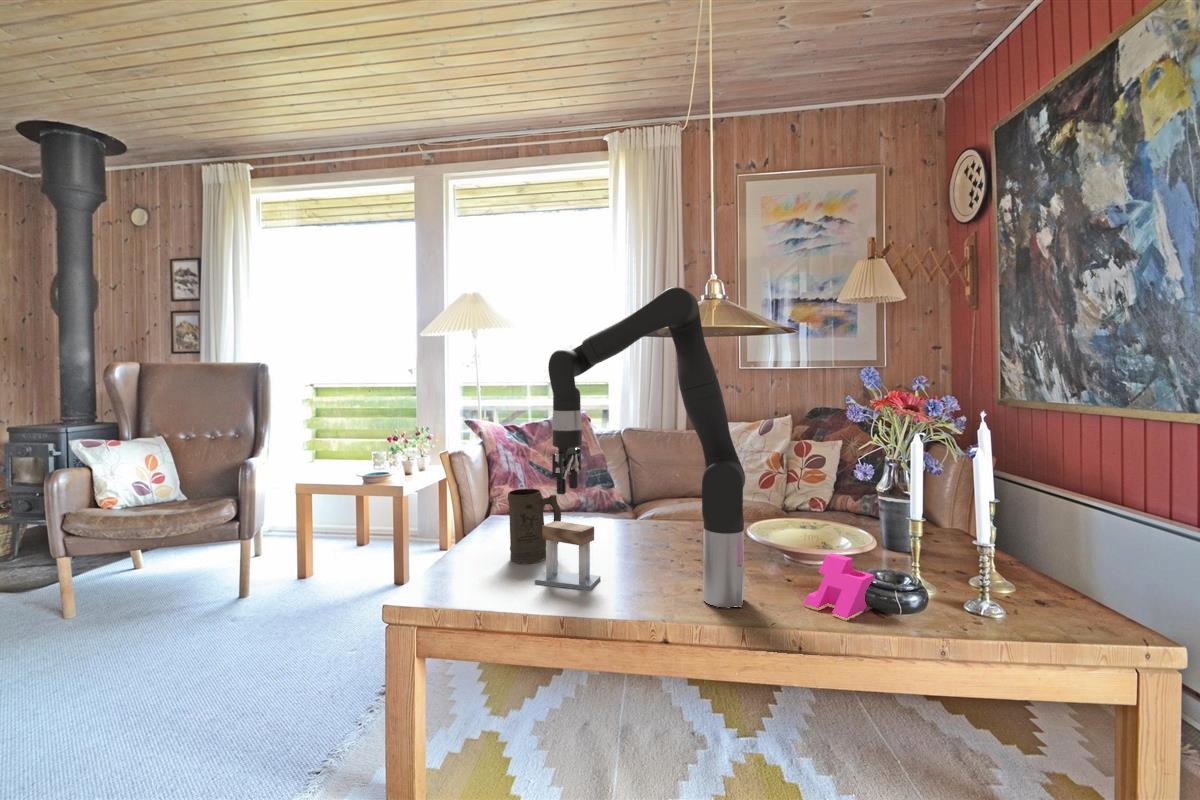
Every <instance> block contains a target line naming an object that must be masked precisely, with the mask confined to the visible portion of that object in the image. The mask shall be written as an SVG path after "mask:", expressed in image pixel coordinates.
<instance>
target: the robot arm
mask: <svg viewBox="0 0 1200 800" xmlns="http://www.w3.org/2000/svg"><path fill="white" fill-rule="evenodd" d="M700 313H701V312H700V306H699V302H698V300H697V298H696V296H694V294H693V293H691V292H690V291H688V289H686V288H683V287H679V286H673V287H669V288H667V289H665V290H664V291H662V292H661V293H660V294H658V295H657V296H655V297H654V298H652V299H651V300H650V301H648V303H646V304H645V305H643V306H641V307H640V308H639V309H637V310H636V311H635V312H632V314H630V315H628V316H626V317H624V318H623V319H621V320H618V322H615V323H614V324H611V325H609V326H608V327H605V328H603V329H601V330H599V331H598V332H596V333H594V334H592V335H589V336H588V337H586V338H585V339H584V340H583V341H582V342H581V344H580V345H578V346H576V347H575V348H573V349H570V350H569V349H557V350H555V351H554V352H553V353H552V354H551V355H550V357H549V359H548V367H547V368H548V377H549V381H550V386H551V390H552V395H553V396H552V400H553V401H552V410H553V411H552V418H551V422H552V423H551V424H552V427H551V428H552V430H551V431H552V446H553V448H558V450H557V451H558V452H557V453H552V459H551V462H552V469H551V470H552V471H551V472H552V476H551V477H552V478H554V479H555V480H556V494H557V495H565V494H566V493H567V474H568V487H569V489H573V490H575V489H577V488H578V487H579V473H580V471H581V470H582V449H581V448H580V447H581V446H582V445H583V434H582V433H583V430H582V427H583V426H582V425H583V424H582V423H583V422H582V420H583V419H582V412H581V407H582V406H581V405H582V404H581V392H580V389H579V388H577V386H576V380H575V378H576V377H578V376H580V375H582V374H584V373H586V372H587V371H589V370H590V369H592V368H593V367H595V366H596V365H597V364H599V363H602V362H604V361H606V360H608V359H610V358H612V357H614V356H616V355H618V354H620V353H621V352H623V351H625V350H626V349H628V348H629V347H630V346H632V345H633V344H634V343H635V342H637V341H639V340H640V339H642V338H644V337H645V336H648V335H649V334H651V333H654V332H656V331H657V332H658V331H660V330H661V329H665V328H668V330H669V332H670V335H671V338H672V341H673V344H674V348H675V352H676V362H677V366H676V367H677V379H678V385H679V391H680V394H681V395H680V396H681V399H682V402H683V406H684V408H685V412H686V414H687V416H688V419H689V421H690V423H691V425H692V427H693V429H694V431H695V433H696V435H697V437H698V439H699V441H700V444H701V449H702V451H703V452H702V453H703V456H704V462H705V468H706V469H705V470H704V473H703V474H702V481H701V514H702V520H703V555H702V556H703V564H702V565H703V569H702V571H703V572H702V573H703V574H702V575H703V578H702V579H703V580H702V581H703V582H702V586H703V588H702V589H703V590H702V597H703V598H702V601H703V602H704V601H705V602H706V603H708V604H710V605H714V606H719V607H734V606H741V607H742V605H743V606H744V602H743V600H745V559H744V557H745V556H744V554H745V553H744V551H745V550H744V548H745V547H744V545H745V543H744V541H745V540H744V539H745V520H744V519H745V518H744V507H743V506H744V487H745V484H746V475H745V471H744V467H743V466H742V463H741V460H740V458H739V456H738V454H737V451H736V447H735V445H734V442H733V439H732V436H731V433H730V428H729V421H728V415H727V411H726V406H725V401H724V398H723V394H722V389H721V386H720V382H719V379H718V375H717V373H716V370H715V369H716V368H715V367H714V364H713V361H712V358H711V355H710V353H709V350H708V347H707V345H706V341H705V338H704V332H703V331H704V330H703V326H702V320H701V314H700ZM705 602H704V603H705ZM706 603H705V604H706ZM708 604H707V605H708ZM710 605H709V606H710ZM714 606H713V607H714ZM742 608H743V607H742Z"/></svg>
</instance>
